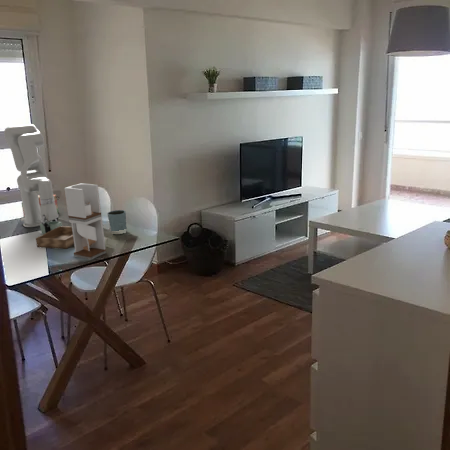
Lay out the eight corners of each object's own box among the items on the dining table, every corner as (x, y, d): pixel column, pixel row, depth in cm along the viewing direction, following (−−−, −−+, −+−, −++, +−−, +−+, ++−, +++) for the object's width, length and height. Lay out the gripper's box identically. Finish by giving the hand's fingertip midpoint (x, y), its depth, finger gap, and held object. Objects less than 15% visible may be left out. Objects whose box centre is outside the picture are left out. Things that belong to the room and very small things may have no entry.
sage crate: (41, 234, 294) (39, 224, 292) (48, 230, 300) (46, 221, 298) (56, 235, 291) (55, 224, 289) (62, 231, 297) (61, 221, 295)
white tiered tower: (74, 256, 255) (64, 187, 245) (89, 249, 264) (81, 183, 253) (90, 259, 249) (81, 189, 239) (106, 252, 258) (97, 184, 248)
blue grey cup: (123, 235, 284) (121, 214, 281) (106, 235, 286) (104, 214, 283) (130, 230, 294) (128, 209, 290) (114, 229, 296) (111, 209, 292)
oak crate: (37, 247, 272) (35, 238, 270) (60, 234, 292) (59, 226, 290) (66, 248, 267) (65, 239, 265) (88, 235, 287) (87, 227, 285)
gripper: (50, 197, 299) (55, 226, 304) (32, 204, 283) (37, 235, 288) (61, 197, 297) (66, 227, 302) (43, 205, 281) (48, 236, 286)
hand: (51, 231), depth 295 cm, fingers closed on sage crate, 6 cm apart
